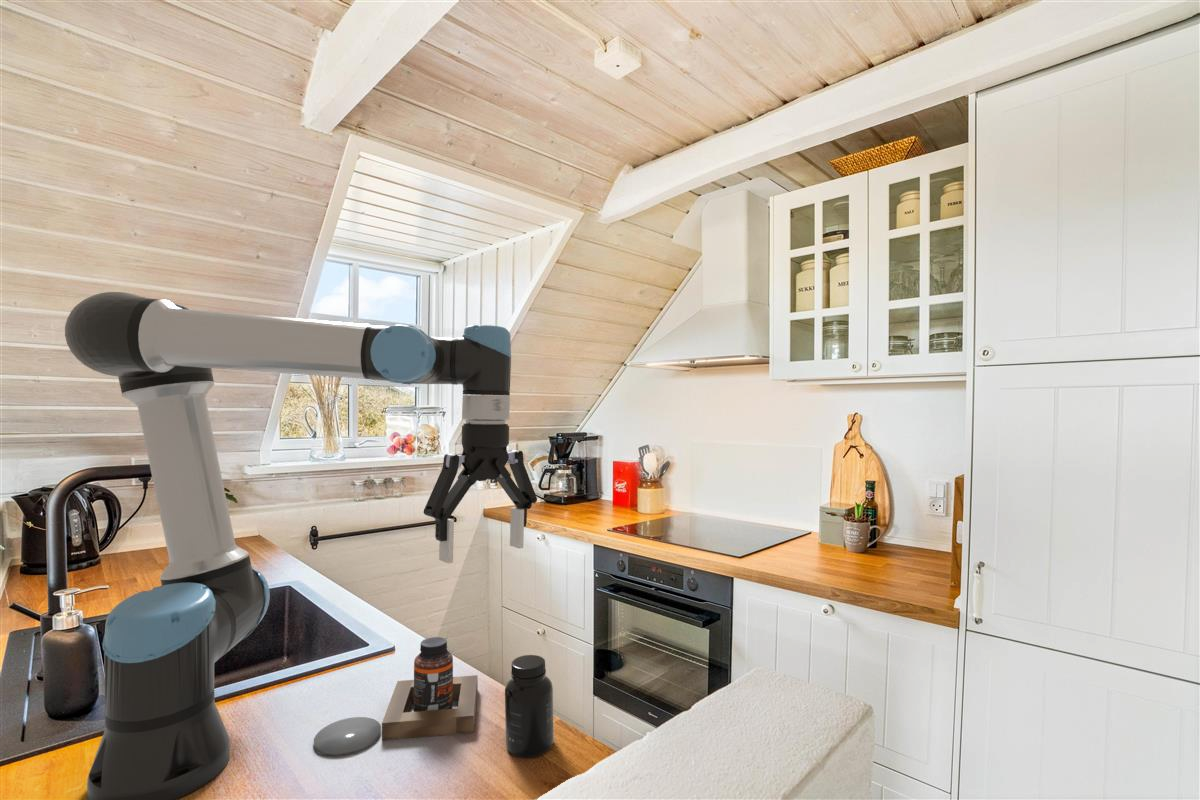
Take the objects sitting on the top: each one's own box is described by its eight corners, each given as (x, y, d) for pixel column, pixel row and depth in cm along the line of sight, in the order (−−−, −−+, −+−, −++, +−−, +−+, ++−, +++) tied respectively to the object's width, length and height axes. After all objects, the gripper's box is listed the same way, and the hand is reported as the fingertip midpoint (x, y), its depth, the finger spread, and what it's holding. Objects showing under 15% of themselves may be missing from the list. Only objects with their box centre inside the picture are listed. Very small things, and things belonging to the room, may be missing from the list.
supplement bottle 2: (533, 726, 91) (533, 647, 91) (563, 745, 86) (563, 661, 86) (495, 745, 86) (495, 661, 86) (524, 766, 81) (524, 677, 81)
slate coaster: (305, 758, 83) (305, 754, 83) (324, 723, 91) (324, 719, 91) (373, 752, 84) (373, 748, 84) (386, 718, 93) (386, 714, 93)
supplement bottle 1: (442, 725, 91) (442, 651, 91) (406, 721, 92) (406, 647, 92) (459, 705, 97) (459, 635, 97) (425, 701, 98) (425, 632, 98)
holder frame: (381, 740, 87) (381, 723, 87) (397, 695, 100) (397, 680, 100) (473, 732, 89) (473, 715, 89) (477, 689, 102) (477, 675, 102)
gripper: (428, 424, 85) (425, 573, 86) (559, 422, 103) (556, 545, 104) (402, 422, 91) (399, 562, 91) (531, 420, 109) (528, 537, 109)
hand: (483, 553), depth 97 cm, fingers open, 13 cm apart
